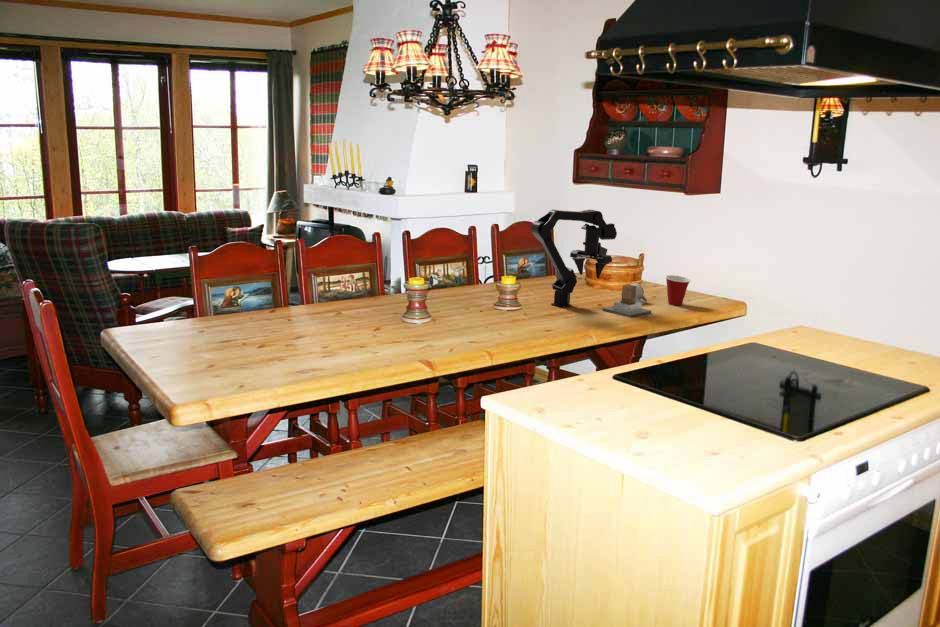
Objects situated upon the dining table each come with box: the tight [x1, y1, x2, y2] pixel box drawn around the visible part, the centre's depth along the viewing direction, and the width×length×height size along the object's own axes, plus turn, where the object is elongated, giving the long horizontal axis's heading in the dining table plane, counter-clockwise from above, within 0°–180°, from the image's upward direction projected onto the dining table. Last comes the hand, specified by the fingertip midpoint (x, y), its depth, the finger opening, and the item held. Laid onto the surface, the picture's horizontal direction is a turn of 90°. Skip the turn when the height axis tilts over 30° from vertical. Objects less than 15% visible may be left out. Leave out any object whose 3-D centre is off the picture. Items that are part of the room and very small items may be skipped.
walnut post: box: [620, 284, 636, 305], centre depth 317 cm, size 4×4×10 cm
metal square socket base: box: [602, 300, 652, 318], centre depth 318 cm, size 14×14×4 cm
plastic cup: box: [665, 275, 692, 307], centre depth 334 cm, size 11×11×12 cm
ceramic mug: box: [621, 282, 648, 305], centre depth 336 cm, size 11×8×8 cm
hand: (589, 276), depth 327 cm, fingers open, 9 cm apart
